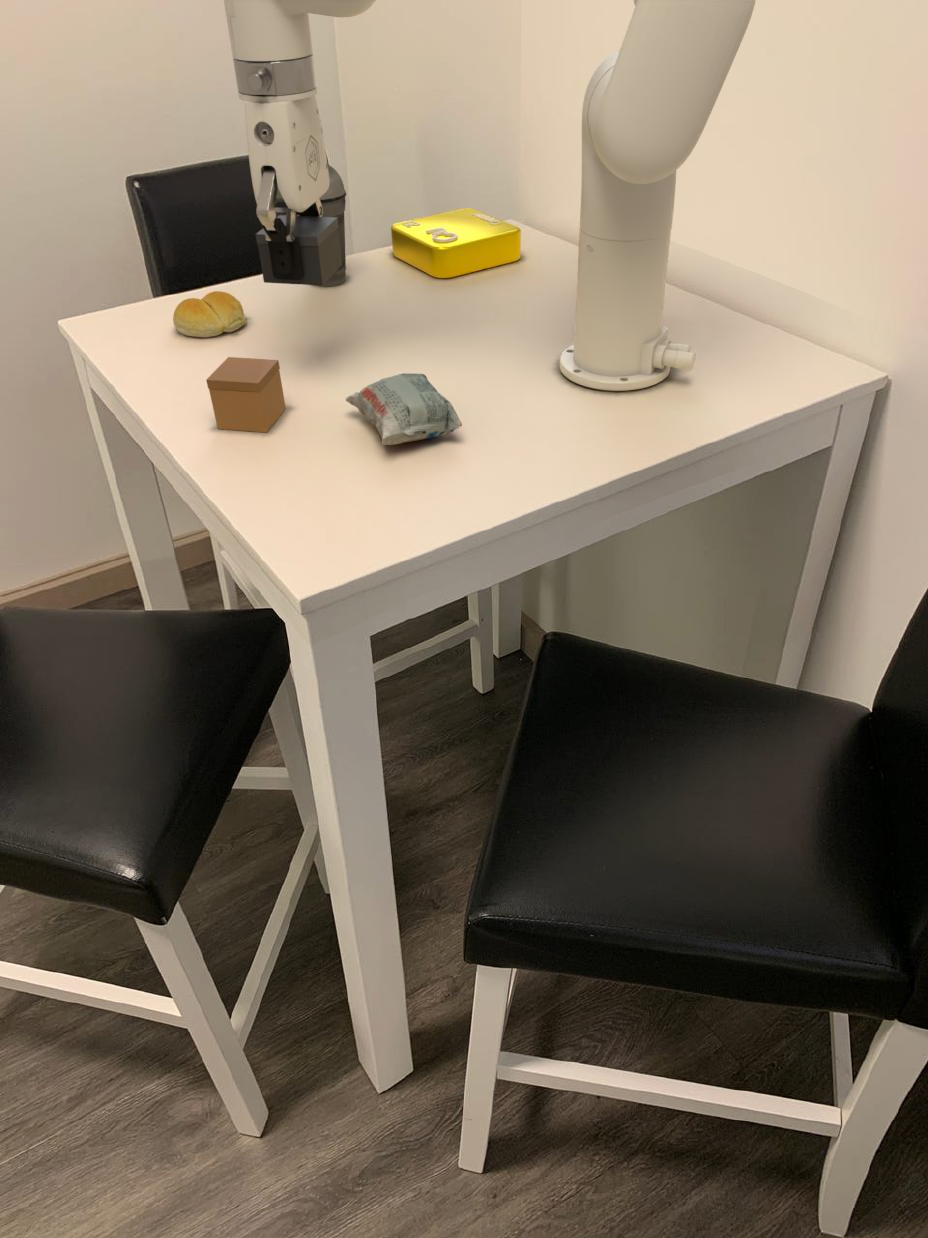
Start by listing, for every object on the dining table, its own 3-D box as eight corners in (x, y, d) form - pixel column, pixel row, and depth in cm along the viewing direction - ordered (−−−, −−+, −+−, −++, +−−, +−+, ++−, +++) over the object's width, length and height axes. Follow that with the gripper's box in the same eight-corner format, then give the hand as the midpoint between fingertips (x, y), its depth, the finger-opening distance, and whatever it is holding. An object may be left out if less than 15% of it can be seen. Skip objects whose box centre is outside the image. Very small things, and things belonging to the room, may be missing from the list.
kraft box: (286, 408, 102) (278, 359, 98) (267, 433, 97) (258, 383, 94) (237, 404, 103) (228, 356, 99) (216, 429, 98) (205, 379, 95)
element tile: (526, 259, 137) (526, 225, 134) (439, 281, 131) (438, 246, 128) (470, 234, 147) (469, 202, 144) (387, 253, 141) (385, 220, 138)
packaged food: (383, 464, 92) (380, 418, 88) (346, 414, 100) (342, 371, 97) (464, 445, 94) (464, 400, 91) (422, 399, 103) (420, 356, 100)
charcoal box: (342, 264, 103) (337, 217, 100) (322, 285, 98) (316, 236, 95) (285, 261, 104) (278, 214, 101) (263, 282, 99) (255, 233, 96)
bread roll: (168, 324, 122) (161, 294, 119) (233, 309, 125) (228, 280, 123) (187, 345, 116) (180, 313, 114) (255, 329, 119) (249, 298, 117)
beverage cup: (352, 289, 130) (335, 130, 117) (300, 290, 130) (278, 132, 117) (357, 271, 135) (342, 118, 123) (308, 272, 136) (287, 119, 123)
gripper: (280, 96, 82) (306, 297, 93) (341, 62, 95) (357, 242, 106) (201, 94, 83) (236, 293, 95) (272, 62, 96) (295, 240, 108)
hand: (300, 265), depth 100 cm, fingers closed on charcoal box, 6 cm apart
